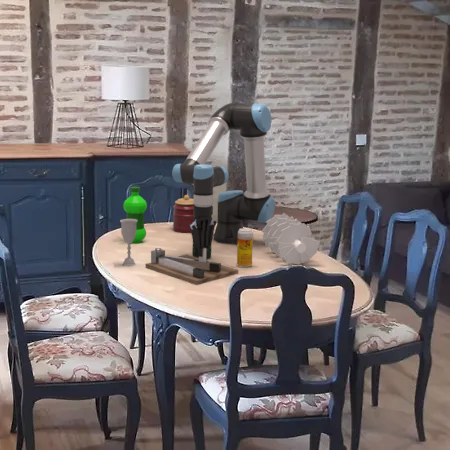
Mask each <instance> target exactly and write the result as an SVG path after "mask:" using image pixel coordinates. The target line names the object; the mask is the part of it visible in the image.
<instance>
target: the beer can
mask: <svg viewBox="0 0 450 450" xmlns="http://www.w3.org/2000/svg"><path fill="white" fill-rule="evenodd" d="M253 243H254V231H253V229H251V228H247V227H245V228H244V227H243V228H242V229H239V231H238V243H237V250H236V251H237V252H236V253H237V254H236V258H237V259H236V264H237V266H238V267H240V268H250V267H251V266H252V265H253V249H254V248H253Z"/></svg>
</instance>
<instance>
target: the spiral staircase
mask: <svg viewBox="0 0 450 450" xmlns="http://www.w3.org/2000/svg"><path fill="white" fill-rule="evenodd" d="M265 223H266V225H265V226H264V227H263V229H262V230H261V232H262V233H263V238H262V243H264V245H265V248H269V249H270V252H271V253H274V254H276V255H277V256H278V257H279V259H282V260H284V261H285V262H286V263H287V264H288V265H289V264H295V265H299V266H300V265H301V264H304V263H308V262H310V261H311V259H312V258H313V257H314V256H315V255H316V254H317V253H318V249H319V244H320V243H321V241H320V240H316V239H315V238H312V237H310V236H311V235H312V234H313V233H312V230H311V227H310V225H307V226H306V224H305V223H302V222H301V221H299V220H298V218H295V219H294V217H293V216H289V215H288V214H287V213H285V212H283V213H282V214H274V215H273V217H272V218H271V219H270V220H268V221H266V222H265Z"/></svg>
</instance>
